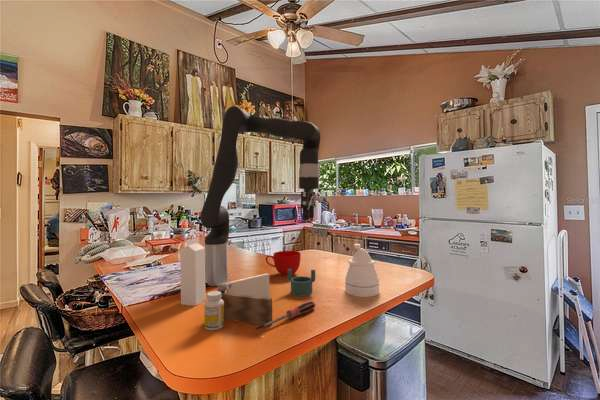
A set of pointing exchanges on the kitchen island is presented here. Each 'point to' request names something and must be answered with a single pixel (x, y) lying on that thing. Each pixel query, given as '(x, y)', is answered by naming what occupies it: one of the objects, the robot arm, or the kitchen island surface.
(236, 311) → the brown rectangular block
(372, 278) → the honey pot
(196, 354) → the kitchen island surface
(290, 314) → the screwdriver
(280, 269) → the ceramic cup
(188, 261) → the milk
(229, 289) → the cream flat slab
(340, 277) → the kitchen island surface
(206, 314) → the supplement bottle
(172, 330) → the kitchen island surface
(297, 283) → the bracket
